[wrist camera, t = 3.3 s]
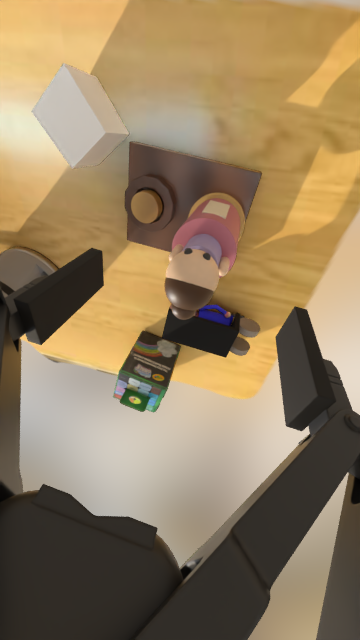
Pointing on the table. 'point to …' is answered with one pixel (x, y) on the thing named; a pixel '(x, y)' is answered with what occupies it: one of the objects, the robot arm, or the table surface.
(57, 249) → the table surface
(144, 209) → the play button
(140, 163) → the brown wooden base
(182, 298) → the doll
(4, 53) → the table surface
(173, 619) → the robot arm
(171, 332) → the figurine character
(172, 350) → the chalk box
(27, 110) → the table surface
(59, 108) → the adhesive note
